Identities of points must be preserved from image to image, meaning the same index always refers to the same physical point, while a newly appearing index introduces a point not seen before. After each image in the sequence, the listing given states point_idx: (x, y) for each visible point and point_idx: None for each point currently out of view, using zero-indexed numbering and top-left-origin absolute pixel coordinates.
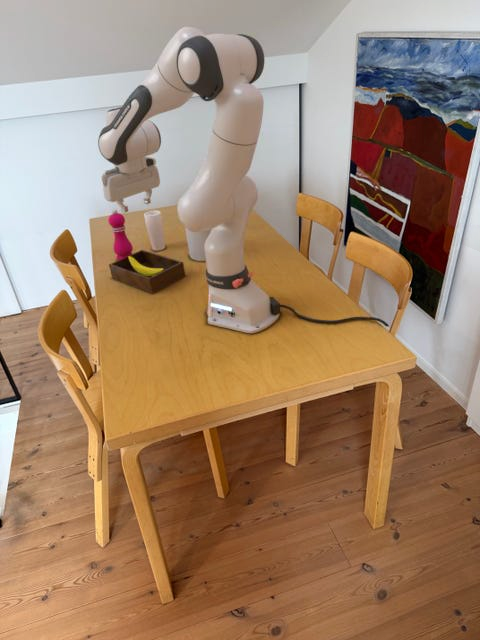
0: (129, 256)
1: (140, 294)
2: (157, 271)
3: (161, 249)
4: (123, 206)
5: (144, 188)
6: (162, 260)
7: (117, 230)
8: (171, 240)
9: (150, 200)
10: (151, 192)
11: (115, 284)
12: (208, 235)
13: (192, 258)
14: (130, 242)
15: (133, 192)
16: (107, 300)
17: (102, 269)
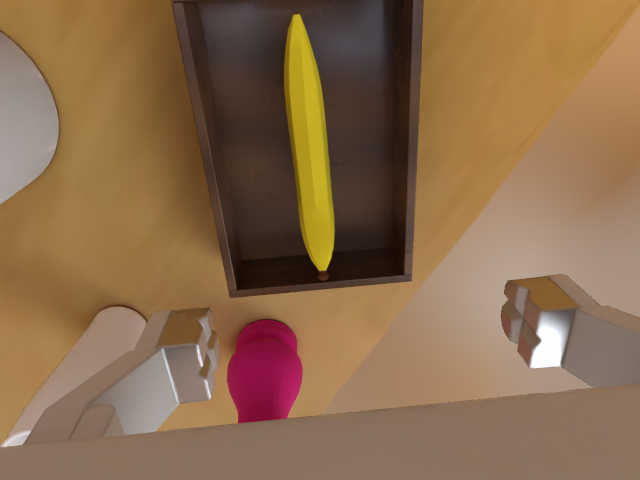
0: (322, 267)
1: (434, 25)
2: (313, 56)
3: (121, 307)
4: (616, 313)
5: (197, 470)
6: (215, 153)
7: None
8: (39, 350)
9: (146, 326)
10: (62, 404)
11: (424, 197)
12: None
13: (57, 119)
14: (231, 378)
15: (517, 432)
16: (535, 104)
17: (369, 334)
